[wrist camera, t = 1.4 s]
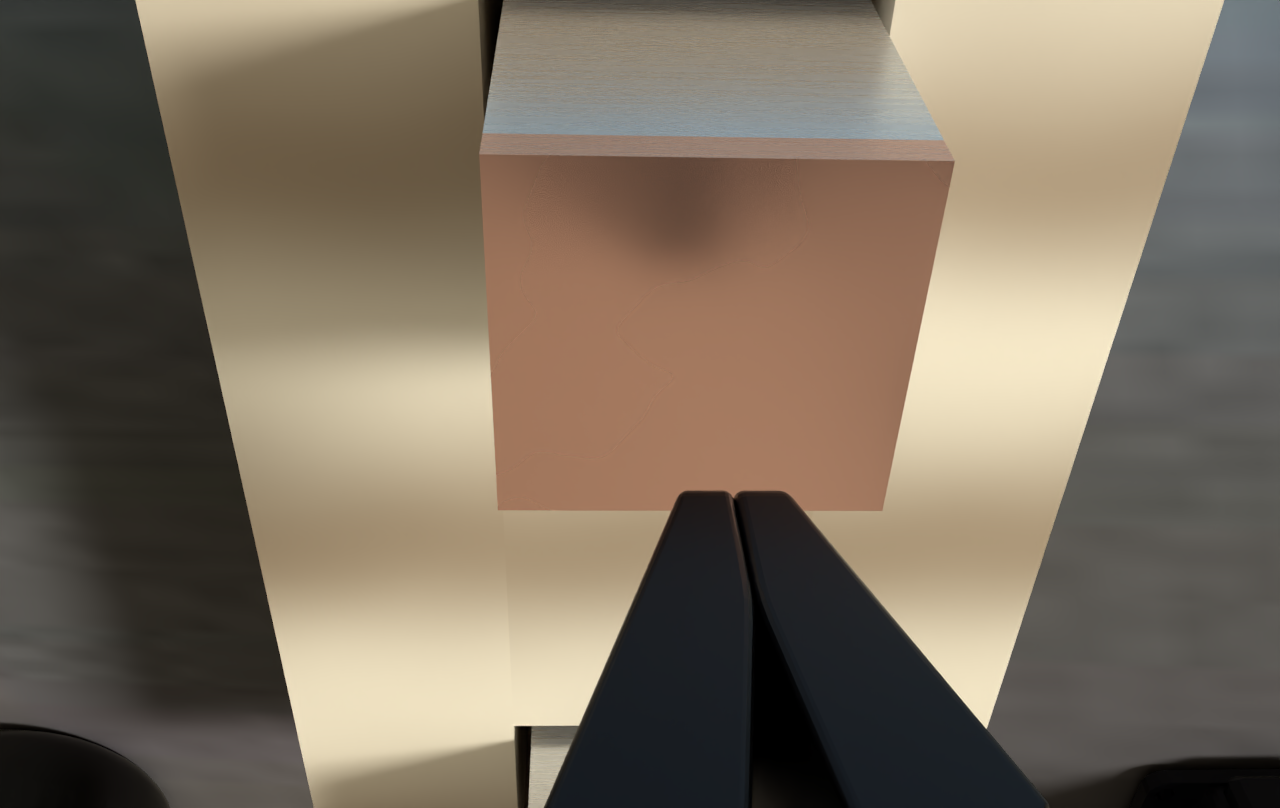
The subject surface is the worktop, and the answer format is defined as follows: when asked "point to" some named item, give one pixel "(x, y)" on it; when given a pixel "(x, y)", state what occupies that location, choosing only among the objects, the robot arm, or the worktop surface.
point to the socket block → (461, 377)
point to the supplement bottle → (69, 774)
